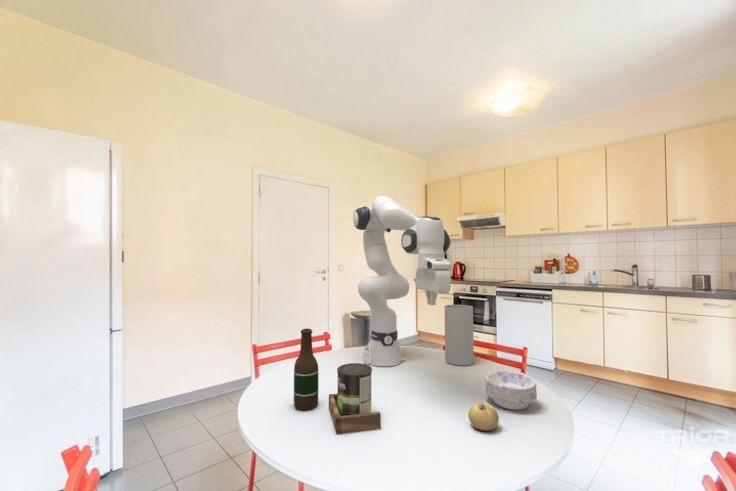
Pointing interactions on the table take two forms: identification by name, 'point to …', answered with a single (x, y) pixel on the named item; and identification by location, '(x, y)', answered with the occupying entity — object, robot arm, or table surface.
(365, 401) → the coffee can
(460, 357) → the cylinder vase
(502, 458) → the table surface
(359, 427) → the caddy
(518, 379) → the paper bowls
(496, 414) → the onion
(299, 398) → the beer bottle
